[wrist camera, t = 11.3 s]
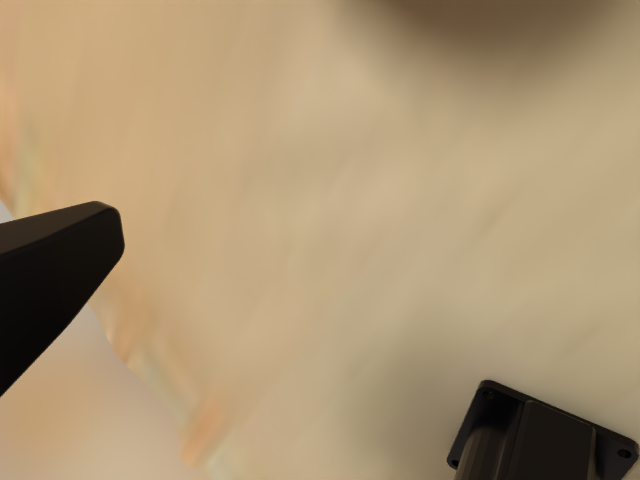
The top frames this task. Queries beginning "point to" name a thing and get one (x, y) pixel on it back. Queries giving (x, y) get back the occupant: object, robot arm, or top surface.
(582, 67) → the top surface
